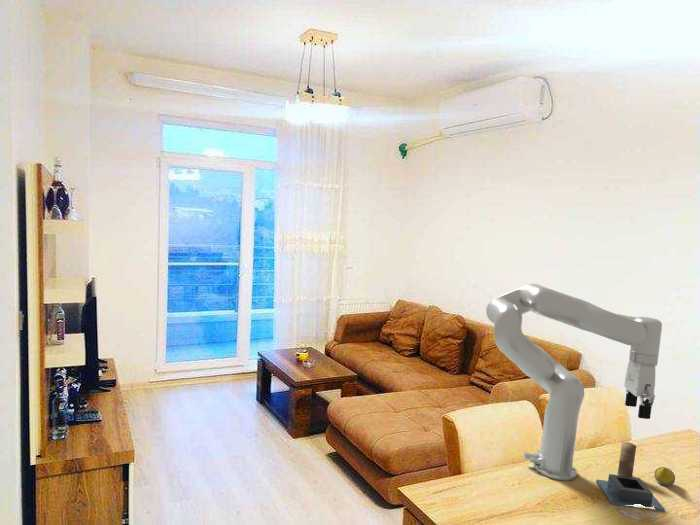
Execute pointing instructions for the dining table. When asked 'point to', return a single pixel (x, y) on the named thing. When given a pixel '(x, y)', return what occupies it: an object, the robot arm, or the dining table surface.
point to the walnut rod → (626, 459)
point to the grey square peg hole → (628, 492)
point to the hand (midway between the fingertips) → (637, 411)
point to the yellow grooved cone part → (664, 476)
